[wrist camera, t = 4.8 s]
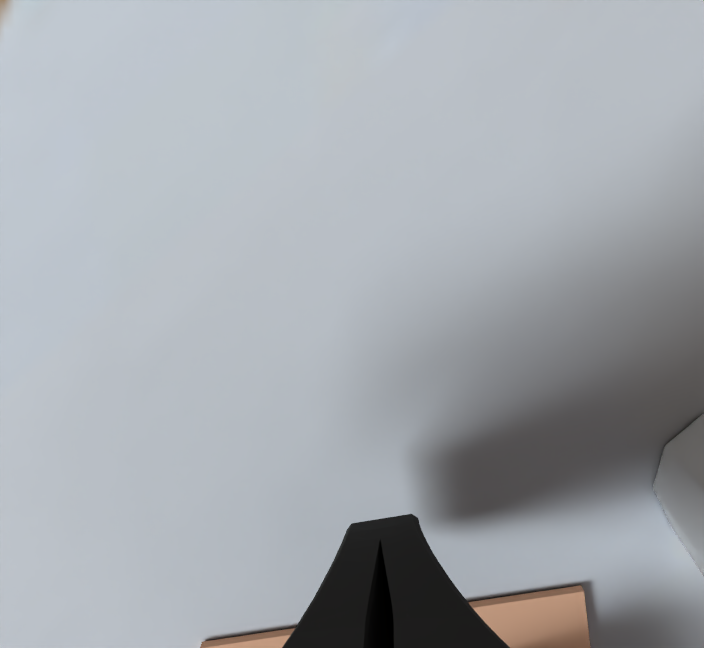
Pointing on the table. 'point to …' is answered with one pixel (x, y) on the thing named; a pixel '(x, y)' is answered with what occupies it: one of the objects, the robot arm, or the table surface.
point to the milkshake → (684, 488)
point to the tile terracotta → (491, 622)
